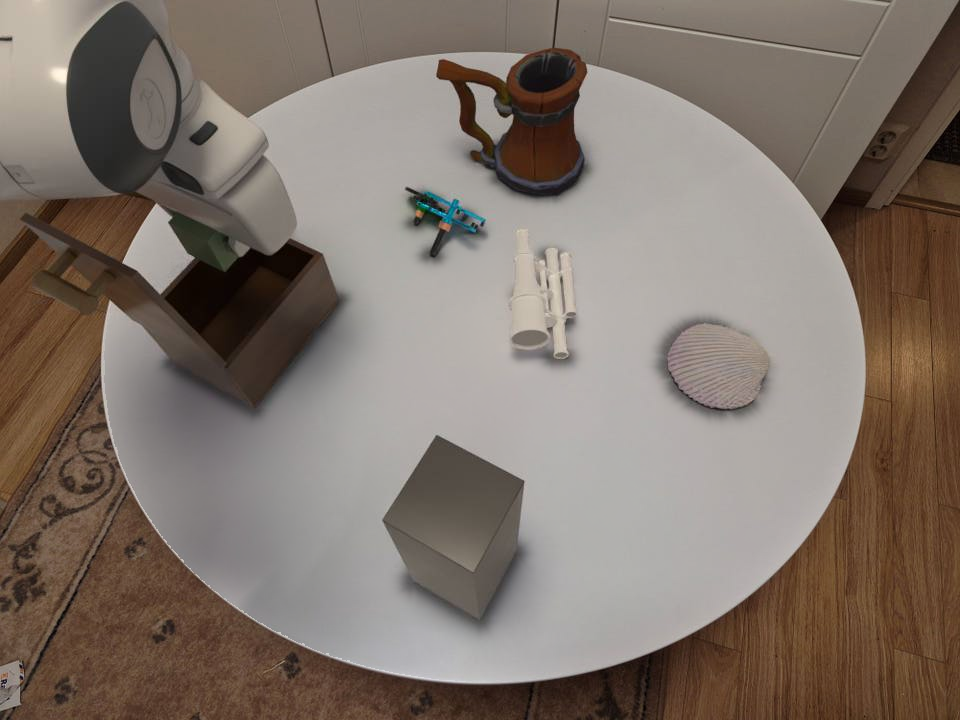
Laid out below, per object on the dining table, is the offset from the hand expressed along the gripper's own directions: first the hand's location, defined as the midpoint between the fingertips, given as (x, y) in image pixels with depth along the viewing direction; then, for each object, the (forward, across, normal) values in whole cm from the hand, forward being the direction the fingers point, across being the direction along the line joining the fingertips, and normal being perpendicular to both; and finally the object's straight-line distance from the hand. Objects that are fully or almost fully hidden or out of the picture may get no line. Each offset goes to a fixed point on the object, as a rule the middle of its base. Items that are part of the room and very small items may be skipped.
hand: (216, 237), depth 63 cm
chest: (+15, 0, -1) cm, 15 cm away
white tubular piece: (+15, +26, +17) cm, 35 cm away
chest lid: (-2, 0, -9) cm, 9 cm away
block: (+1, 0, 0) cm, 1 cm away
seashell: (+15, +46, +19) cm, 52 cm away
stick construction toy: (+15, +10, +21) cm, 28 cm away
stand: (+15, +33, -12) cm, 38 cm away
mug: (+15, +13, +35) cm, 40 cm away
